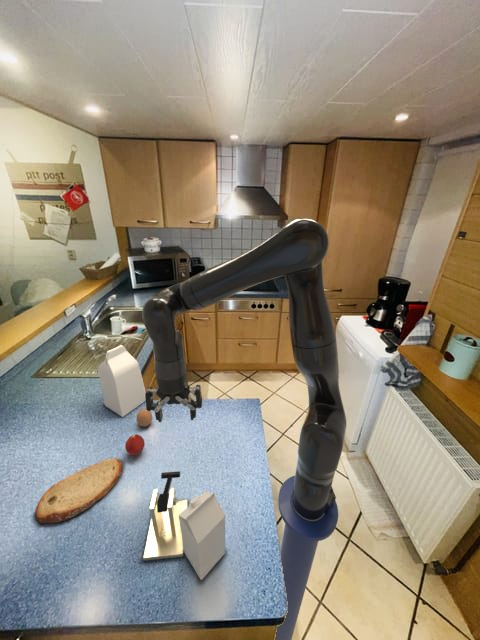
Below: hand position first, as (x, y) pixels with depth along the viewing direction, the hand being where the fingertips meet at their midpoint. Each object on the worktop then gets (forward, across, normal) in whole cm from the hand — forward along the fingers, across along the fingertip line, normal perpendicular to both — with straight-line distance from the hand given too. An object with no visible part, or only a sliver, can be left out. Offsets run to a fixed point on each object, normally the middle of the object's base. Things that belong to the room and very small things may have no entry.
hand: (176, 418), depth 69 cm
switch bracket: (+22, +2, +15) cm, 27 cm away
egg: (+22, +16, -20) cm, 34 cm away
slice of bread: (+22, +28, +3) cm, 36 cm away
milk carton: (+22, -8, +21) cm, 31 cm away
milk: (+22, +27, -32) cm, 48 cm away
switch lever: (+14, +2, +11) cm, 18 cm away
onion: (+22, +16, -8) cm, 29 cm away
